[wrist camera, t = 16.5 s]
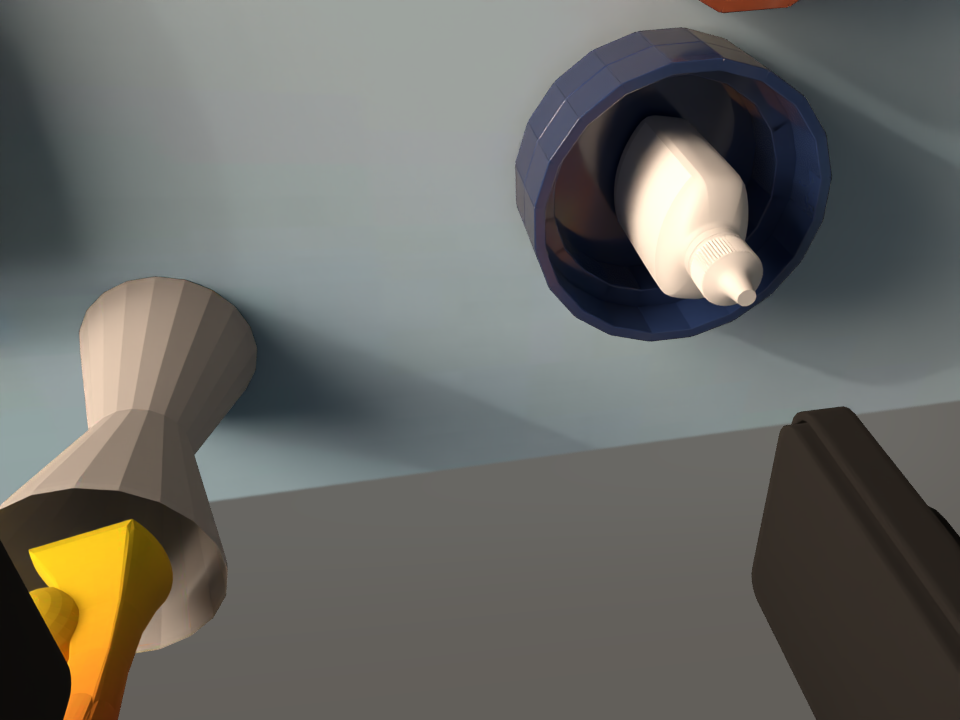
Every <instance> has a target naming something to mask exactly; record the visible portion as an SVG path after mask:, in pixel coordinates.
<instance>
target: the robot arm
mask: <svg viewBox="0 0 960 720" xmlns="http://www.w3.org/2000/svg"><path fill="white" fill-rule="evenodd" d="M752 584H753V589H754V593H755V596H756V599H757V601H758V603H759V605H760V607H761V609H762V611H763V613H764V615H765V617H766V619H767V621H768V623H769V625H770V627H771V629H772V631H773V633H774V635H775V637H776V639H777V641H778V643H779V645H780V647H781V649H782V651H783V653H784V655H785V658H786V660H787V662H788V663H789V666H790V668H791V670H792V672H793V674H794V675H795V678H796V680H797V682H798V684H799V686H800V688H801V690H802V692H803V694H804V696H805V698H806V700H807V702H808V704H809V706H810V708H811V710H812V712H813V714H814V716H815V718H816V720H960V537H959V535H958V534H957V533H956V532H955V530H954V529H953V528H952V527H951V525H950V524H949V523H948V522H947V520H946V519H945V518H944V517H943V516H942V515H940V513H939V512H937V510H935V509H933V508H931V507H929V506H928V505H927V504H926V503H925V502H924V500H923V499H922V498H921V497H920V495H919V494H918V493H917V491H916V490H915V489H914V488H913V486H912V485H911V484H910V483H909V481H908V480H907V479H906V478H905V476H904V475H903V474H902V473H901V471H900V470H899V469H898V468H897V466H896V465H895V464H894V462H893V461H892V460H891V459H890V457H889V456H888V455H887V454H886V452H885V451H884V450H883V449H882V447H881V446H880V445H879V444H878V442H877V441H876V440H875V438H874V437H873V436H872V435H871V433H870V432H869V431H868V430H867V428H866V427H865V426H864V425H863V423H862V422H861V421H860V420H859V418H858V417H857V416H856V414H855V413H854V412H853V411H851V410H850V409H849V408H847V407H844V406H843V407H835V408H827V409H819V410H811V411H803V412H799V413H797V414H796V415H795V416H794V418H793V421H792V424H791V425H786V426H783V428H782V429H781V431H780V434H779V438H778V443H777V448H776V453H775V458H774V463H773V468H772V473H771V478H770V483H769V488H768V493H767V498H766V503H765V508H764V513H763V518H762V523H761V528H760V533H759V538H758V543H757V548H756V553H755V557H754V562H753V567H752ZM71 685H72V684H71V673H70V669H69V666H68V664H67V662H66V660H65V658H64V656H63V654H62V653H61V651H60V649H59V647H58V645H57V643H56V641H55V640H54V638H53V636H52V634H51V632H50V630H49V629H48V627H47V625H46V623H45V621H44V619H43V618H42V616H41V614H40V612H39V610H38V608H37V606H36V605H35V603H34V601H33V599H32V597H31V595H30V594H29V592H28V590H27V588H26V586H25V584H24V582H23V581H22V579H21V577H20V575H19V573H18V571H17V570H16V568H15V566H14V564H13V562H12V560H11V558H10V557H9V555H8V553H7V551H6V549H5V547H4V546H3V544H2V542H1V540H0V720H63V719H64V716H65V712H66V709H67V706H68V702H69V699H70V694H71Z"/></svg>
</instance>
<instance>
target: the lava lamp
mask: <svg viewBox="0 0 960 720" xmlns="http://www.w3.org/2000/svg"><path fill="white" fill-rule="evenodd" d="M79 338H80V353H81V363H82V373H83V383H84V392H85V402H86V411H87V421H88V431H87V432H86V433H85V434H83V435H82V436H81V437H80V438H79V439H77V440H76V441H75V442H74V443H73V444H72V445H70V446H69V447H68V448H67V449H66V450H64V451H63V452H62V453H61V454H60V455H59V456H57V457H56V458H55V459H54V460H53V461H52V462H50V463H49V464H48V465H47V466H46V467H44V468H43V469H42V470H41V471H40V472H39V473H37V474H36V475H35V476H34V477H33V478H32V479H30V480H29V481H28V482H27V483H26V484H24V485H23V486H22V487H21V488H20V489H19V490H17V491H16V492H15V493H14V494H13V495H12V496H10V497H9V498H8V499H7V500H6V501H5V502H4V503H3V504H2V505H1V506H0V540H1V542H2V544H3V546H4V547H5V549H6V551H7V553H8V555H9V557H10V558H11V560H12V562H13V564H14V566H15V568H16V570H17V571H18V573H19V575H20V577H21V579H22V581H23V582H24V584H25V586H26V588H27V590H28V592H29V594H30V595H31V597H32V599H33V601H34V603H35V605H36V606H37V608H38V610H39V612H40V614H41V616H42V618H43V619H44V621H45V623H46V625H47V627H48V629H49V630H50V632H51V634H52V636H53V638H54V640H55V641H56V643H57V645H58V647H59V649H60V651H61V653H62V654H63V656H64V658H65V660H66V662H67V664H68V666H69V669H70V673H71V684H72V685H71V694H70V699H69V702H68V706H67V709H66V712H65V716H64V719H63V720H118V716H119V712H120V708H121V703H122V698H123V694H124V689H125V685H126V680H127V676H128V672H129V670H130V667H131V664H132V661H133V658H134V656H135V653H139V652H145V651H151V650H157V649H161V648H163V647H166V646H168V645H170V644H173V643H175V642H178V641H180V640H182V639H185V638H187V637H190V636H191V635H193V634H194V633H195V632H196V631H197V630H199V629H200V628H201V627H202V626H204V625H205V624H206V623H207V622H209V621H210V620H211V619H212V618H213V617H214V616H215V614H216V612H217V610H218V609H219V607H220V605H221V603H222V601H223V600H224V598H225V596H226V587H227V570H228V569H227V560H226V557H225V553H224V550H223V547H222V543H221V540H220V537H219V534H218V531H217V527H216V524H215V521H214V518H213V514H212V511H211V508H210V505H209V501H208V498H207V495H206V492H205V488H204V485H203V482H202V479H201V476H200V472H199V469H198V466H197V463H196V459H195V456H194V455H195V453H196V452H197V451H198V450H199V448H200V447H201V446H202V445H203V443H204V442H205V441H206V439H207V438H208V437H209V436H210V434H211V433H212V432H213V430H214V429H215V428H216V427H217V425H218V424H219V423H220V421H221V420H222V419H223V418H224V416H225V415H226V414H227V413H228V411H229V410H230V409H231V407H232V406H233V405H234V404H235V402H236V401H237V400H238V398H239V397H240V396H241V395H242V393H243V392H244V391H245V389H246V388H247V386H248V384H249V382H250V380H251V378H252V376H253V374H254V372H255V370H256V358H257V346H256V343H255V340H254V337H253V334H252V331H251V328H250V326H249V325H248V323H247V322H246V321H245V319H244V318H243V317H242V315H241V314H240V313H239V311H238V310H237V309H236V307H235V306H233V305H232V304H231V303H229V302H228V301H226V300H225V299H224V298H222V297H221V296H220V295H218V294H217V293H215V292H214V291H213V290H210V289H208V288H205V287H202V286H200V285H197V284H195V283H192V282H189V281H187V280H182V279H172V278H163V277H150V278H144V279H137V280H131V281H126V282H124V283H122V284H120V285H118V286H116V287H114V288H112V289H110V290H108V291H106V292H104V293H103V294H102V295H101V296H100V297H99V298H98V299H97V300H96V301H95V302H94V303H93V304H92V306H91V307H90V308H89V309H88V310H87V311H86V314H85V317H84V320H83V322H82V325H81V328H80V330H79Z"/></svg>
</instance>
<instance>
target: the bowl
mask: <svg viewBox="0 0 960 720" xmlns="http://www.w3.org/2000/svg"><path fill="white" fill-rule="evenodd" d="M653 115H657V116H667V117H676V118H682V119H684V120H686V121H688V122H689V123H690V124H691V125H692V126H693V127H694V128H695V129H696V130H697V131H698V132H699V133H700V134H701V135H702V136H703V137H704V138H705V139H706V140H707V141H708V143H709V144H710V145H711V146H712V147H713V148H714V149H715V150H716V151H717V152H718V153H719V154H720V155H721V156H722V157H723V158H724V159H725V160H726V161H727V162H728V163H729V164H730V165H731V167H732V168H733V169H734V170H735V171H736V172H737V173H738V175H739V176H740V177H741V179H742V181H743V183H744V184H745V188H746V192H747V199H748V227H747V233H746V238H745V242H746V243H747V244H748V246H749V247H750V248H751V249H752V250H753V252H754V253H755V254H756V255H757V256H758V257H759V259H760V260H761V263H762V265H763V266H762V268H763V275H762V279H761V282H760V284H759V286H758V288H757V289H756V290H755V293H756V299H755V301H754V302H753V303H752V304H750V305H748V306H741V305H739V304H738V303H737V304H734V305H730V306H729V305H728V306H720V305H716V304H714V303H711V302H709V301H708V300H707V299H706V298H705V297H704V298H700V299H685V298H676V297H671V296H669V295H666V294H664V293H663V292H662V291H661V289H660V288H659V286H658V285H657V283H656V282H655V280H654V279H653V277H652V276H651V274H650V273H649V271H648V270H647V268H646V266H645V265H644V263H643V261H642V260H641V258H640V257H639V255H638V253H637V252H636V250H635V248H634V247H633V245H632V243H631V242H630V240H629V239H628V237H627V235H626V234H625V232H624V230H623V229H622V227H621V225H620V224H619V222H618V220H617V216H616V211H615V203H614V184H615V177H616V172H617V167H618V164H619V161H620V158H621V155H622V153H623V150H624V148H625V146H626V144H627V142H628V140H629V139H630V137H631V135H632V134H633V132H634V130H635V129H636V128H637V126H638V125H639V124H640V122H641V121H642V120H644V119H645V118H646V117H648V116H653ZM515 175H516V204H517V208H518V210H519V213H520V216H521V218H522V221H523V223H524V226H525V228H526V231H527V234H528V236H529V239H530V241H531V244H532V246H533V249H534V251H535V254H536V257H537V259H538V262H539V264H540V267H541V269H542V272H543V274H544V277H545V279H546V282H547V285H548V287H549V288H550V290H551V291H552V292H553V293H554V294H555V296H556V297H557V298H558V299H559V300H560V301H561V302H562V303H563V304H564V305H565V306H566V308H567V309H568V310H569V311H570V312H571V313H572V314H573V315H574V316H575V317H576V318H578V319H580V320H582V321H584V322H586V323H588V324H590V325H592V326H593V327H595V328H597V329H599V330H601V331H603V332H605V333H607V334H609V335H613V336H619V337H625V338H631V339H637V340H643V341H659V340H668V339H677V338H685V337H691V336H695V335H698V334H700V333H703V332H706V331H708V330H711V329H713V328H716V327H719V326H721V325H724V324H727V323H729V322H732V321H733V320H735V319H737V318H738V317H740V316H741V315H743V314H744V313H746V312H747V311H749V310H750V309H751V308H753V307H754V306H756V305H757V304H759V303H760V302H762V301H763V300H765V299H766V298H768V297H769V296H770V294H772V293H773V292H774V291H775V290H776V289H777V288H778V287H779V286H780V285H781V284H782V282H783V281H784V280H785V279H786V278H787V277H788V276H789V275H790V274H791V272H792V271H793V270H794V269H795V268H796V267H797V266H798V265H799V264H800V262H801V260H803V258H804V256H805V254H806V252H807V250H808V248H809V247H810V245H811V243H812V241H813V239H814V237H815V235H816V233H817V231H818V229H819V227H820V226H821V224H822V222H823V219H824V214H825V209H826V204H827V199H828V194H829V189H830V184H831V179H832V174H831V166H830V159H829V151H828V144H827V136H826V132H825V131H824V129H823V127H822V125H821V124H820V122H819V120H818V118H817V117H816V115H815V113H814V111H813V109H812V108H811V106H810V104H809V102H808V101H807V99H806V97H804V95H803V94H801V93H800V92H799V91H797V90H796V89H795V88H793V87H792V86H791V85H789V84H788V83H787V82H785V81H784V80H783V79H781V78H780V77H779V76H777V75H776V74H775V73H773V72H772V71H771V70H769V69H768V68H767V67H765V66H764V65H762V64H761V63H759V62H758V61H757V60H755V59H754V58H752V57H751V56H750V55H748V54H747V53H745V52H744V51H742V50H741V49H740V48H738V47H737V46H735V45H734V44H733V43H731V42H730V41H728V40H727V39H724V38H722V37H718V36H714V35H711V34H707V33H703V32H699V31H696V30H692V29H688V28H682V27H680V28H669V29H657V30H646V31H638V32H634V33H632V34H629V35H627V36H625V37H622V38H620V39H618V40H615V41H613V42H611V43H608V44H606V45H604V46H601V47H599V48H596V49H594V50H593V51H591V52H589V53H588V54H587V55H586V56H585V57H583V58H582V59H581V60H580V61H579V62H577V63H576V64H575V65H574V66H573V67H571V68H570V69H569V70H568V71H567V72H565V73H564V74H563V75H562V76H561V77H559V78H558V79H557V80H556V81H555V82H554V83H553V85H552V86H551V88H550V89H549V91H548V92H547V94H546V95H545V97H544V98H543V100H542V101H541V103H540V104H539V106H538V107H537V109H536V110H535V112H534V113H533V115H532V116H531V118H530V119H529V122H528V123H527V126H526V129H525V133H524V136H523V139H522V143H521V146H520V149H519V153H518V156H517V159H516V165H515Z"/></svg>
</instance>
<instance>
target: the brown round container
mask: <svg viewBox="0 0 960 720" xmlns="http://www.w3.org/2000/svg"><path fill="white" fill-rule="evenodd" d="M699 1H701V2H702V3H704V4H706V5H708V6H709V7H711V8H713V9H714V10H716V11H718V12H722V13H729V12H741V11H753V10H764V9H776V8H787V7H788V6H792V5H793V4H795V3H796V2H798V1H799V0H699Z"/></svg>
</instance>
